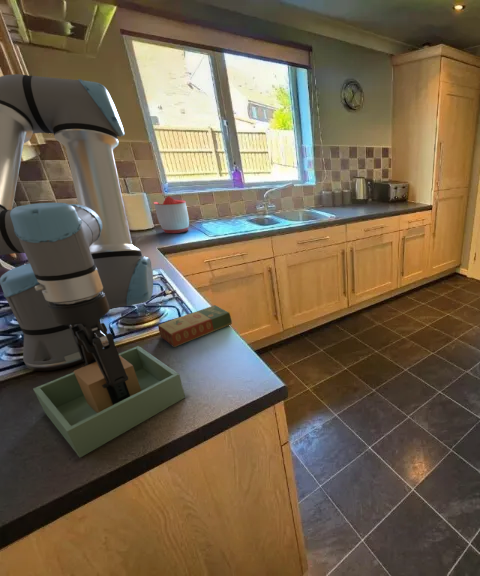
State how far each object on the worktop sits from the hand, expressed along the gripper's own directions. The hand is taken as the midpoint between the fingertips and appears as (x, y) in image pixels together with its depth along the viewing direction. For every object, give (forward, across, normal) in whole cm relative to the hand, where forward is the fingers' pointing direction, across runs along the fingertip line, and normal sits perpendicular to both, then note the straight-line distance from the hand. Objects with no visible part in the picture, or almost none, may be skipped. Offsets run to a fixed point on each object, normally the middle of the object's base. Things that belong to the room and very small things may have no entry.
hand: (115, 399), depth 66 cm
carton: (+2, -15, +25) cm, 29 cm away
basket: (+2, 0, 0) cm, 2 cm away
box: (0, 0, 0) cm, 0 cm away
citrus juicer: (+1, -131, +78) cm, 152 cm away
